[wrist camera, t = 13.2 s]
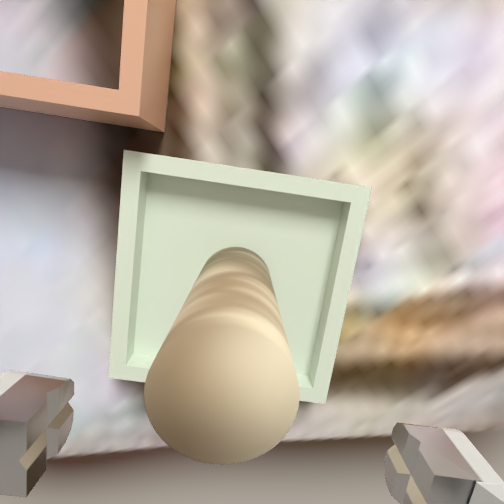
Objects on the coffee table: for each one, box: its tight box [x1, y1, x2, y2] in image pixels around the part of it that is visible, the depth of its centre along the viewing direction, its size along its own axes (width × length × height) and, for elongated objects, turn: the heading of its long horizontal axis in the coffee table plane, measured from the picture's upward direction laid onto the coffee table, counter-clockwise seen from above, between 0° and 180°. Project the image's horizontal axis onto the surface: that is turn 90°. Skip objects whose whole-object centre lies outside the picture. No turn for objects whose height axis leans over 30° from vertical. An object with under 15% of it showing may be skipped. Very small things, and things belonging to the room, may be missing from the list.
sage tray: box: [108, 150, 372, 404], centre depth 21 cm, size 14×14×2 cm
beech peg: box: [144, 247, 300, 465], centre depth 15 cm, size 4×4×12 cm
